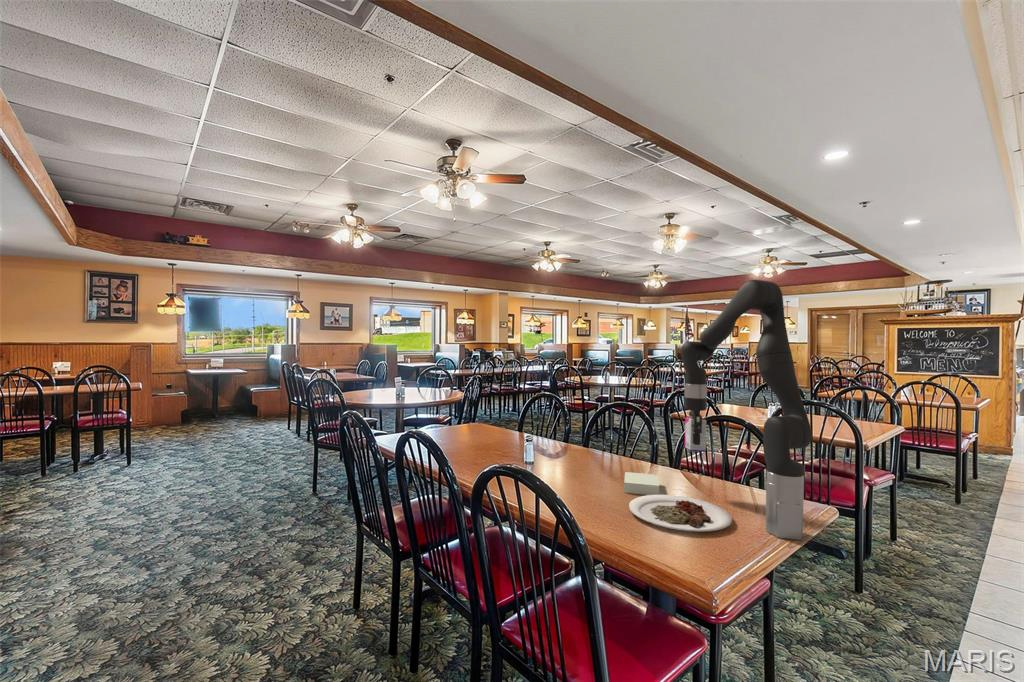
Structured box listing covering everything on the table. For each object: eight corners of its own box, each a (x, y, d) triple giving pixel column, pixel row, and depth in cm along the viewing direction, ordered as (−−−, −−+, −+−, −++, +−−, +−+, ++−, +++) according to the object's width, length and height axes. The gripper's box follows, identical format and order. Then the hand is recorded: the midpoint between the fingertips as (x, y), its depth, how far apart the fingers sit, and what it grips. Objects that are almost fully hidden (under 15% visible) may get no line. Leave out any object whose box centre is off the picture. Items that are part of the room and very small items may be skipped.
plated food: (622, 526, 134) (622, 514, 134) (634, 495, 162) (634, 485, 162) (736, 544, 123) (736, 532, 123) (728, 508, 151) (728, 497, 151)
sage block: (659, 497, 161) (659, 485, 161) (624, 493, 164) (624, 482, 164) (657, 485, 174) (657, 474, 174) (624, 482, 178) (625, 471, 178)
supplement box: (706, 452, 163) (706, 419, 163) (689, 451, 163) (690, 419, 163) (700, 448, 168) (700, 417, 169) (683, 448, 169) (684, 417, 169)
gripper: (710, 398, 158) (709, 447, 158) (703, 394, 172) (703, 439, 172) (687, 398, 160) (686, 445, 160) (682, 394, 174) (681, 438, 173)
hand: (695, 442), depth 166 cm, fingers closed on supplement box, 6 cm apart
